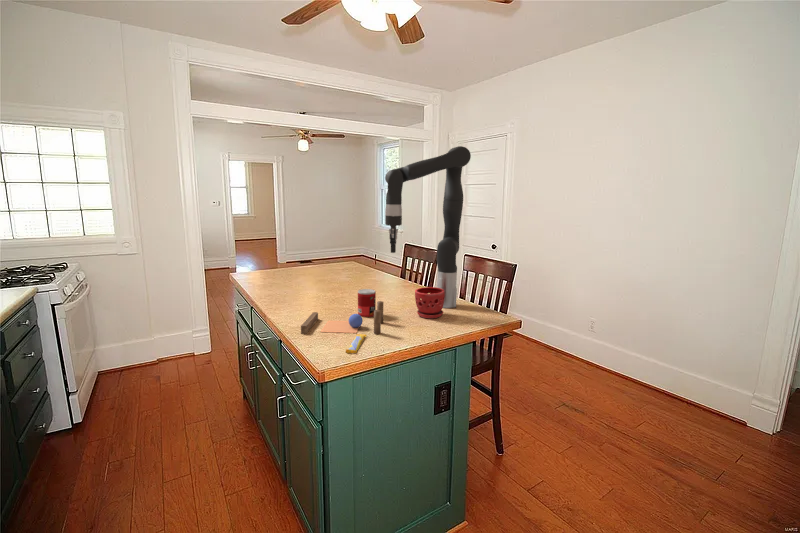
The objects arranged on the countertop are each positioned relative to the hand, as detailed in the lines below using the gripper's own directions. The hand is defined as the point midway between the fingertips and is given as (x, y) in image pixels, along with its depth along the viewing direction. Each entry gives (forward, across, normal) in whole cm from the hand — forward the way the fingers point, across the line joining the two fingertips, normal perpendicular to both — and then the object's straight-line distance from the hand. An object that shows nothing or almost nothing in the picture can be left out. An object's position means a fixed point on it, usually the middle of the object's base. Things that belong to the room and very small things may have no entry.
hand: (393, 252), depth 174 cm
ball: (+24, +27, -13) cm, 39 cm away
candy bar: (+28, +45, -10) cm, 54 cm away
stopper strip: (+27, +27, -32) cm, 50 cm away
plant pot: (+27, +9, +17) cm, 33 cm away
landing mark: (+27, +27, -19) cm, 43 cm away
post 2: (+27, +33, -4) cm, 43 cm away
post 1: (+27, +21, -4) cm, 34 cm away
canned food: (+27, +10, -11) cm, 31 cm away
